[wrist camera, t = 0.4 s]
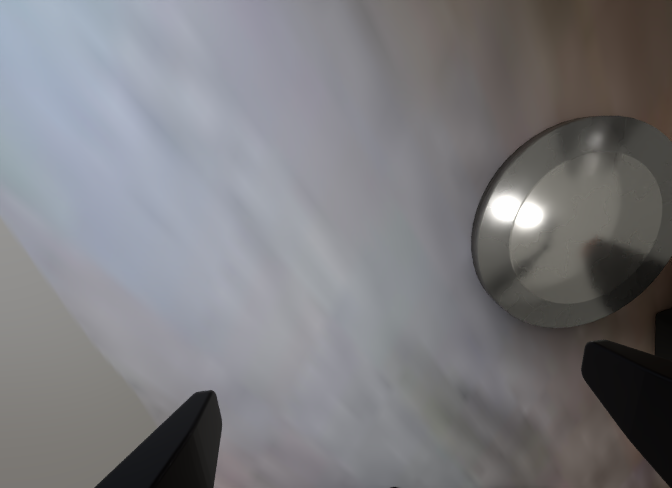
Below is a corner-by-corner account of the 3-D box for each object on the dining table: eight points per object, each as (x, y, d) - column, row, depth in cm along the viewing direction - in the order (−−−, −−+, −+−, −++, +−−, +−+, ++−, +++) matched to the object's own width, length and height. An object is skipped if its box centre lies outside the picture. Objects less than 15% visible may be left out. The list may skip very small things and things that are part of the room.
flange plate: (661, 296, 26) (678, 304, 24) (478, 339, 25) (486, 349, 24) (686, 94, 21) (708, 92, 20) (463, 142, 21) (472, 143, 20)
